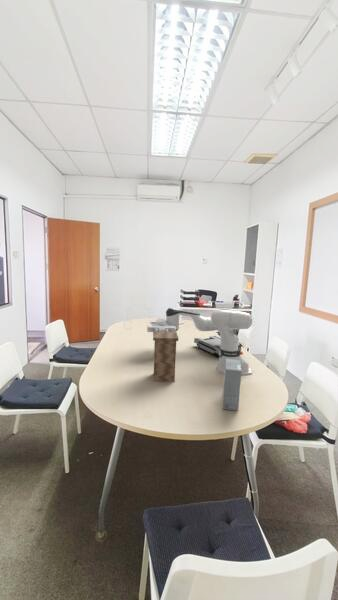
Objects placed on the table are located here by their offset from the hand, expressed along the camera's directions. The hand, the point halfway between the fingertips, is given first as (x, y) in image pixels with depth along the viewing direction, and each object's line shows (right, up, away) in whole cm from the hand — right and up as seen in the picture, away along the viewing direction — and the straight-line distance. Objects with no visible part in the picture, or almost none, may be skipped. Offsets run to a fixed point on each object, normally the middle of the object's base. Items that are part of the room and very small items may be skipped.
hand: (161, 331), depth 191 cm
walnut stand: (+2, -24, -25) cm, 35 cm away
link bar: (-1, -7, +7) cm, 10 cm away
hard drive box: (+35, -30, -51) cm, 69 cm away
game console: (+42, -19, +30) cm, 55 cm away
